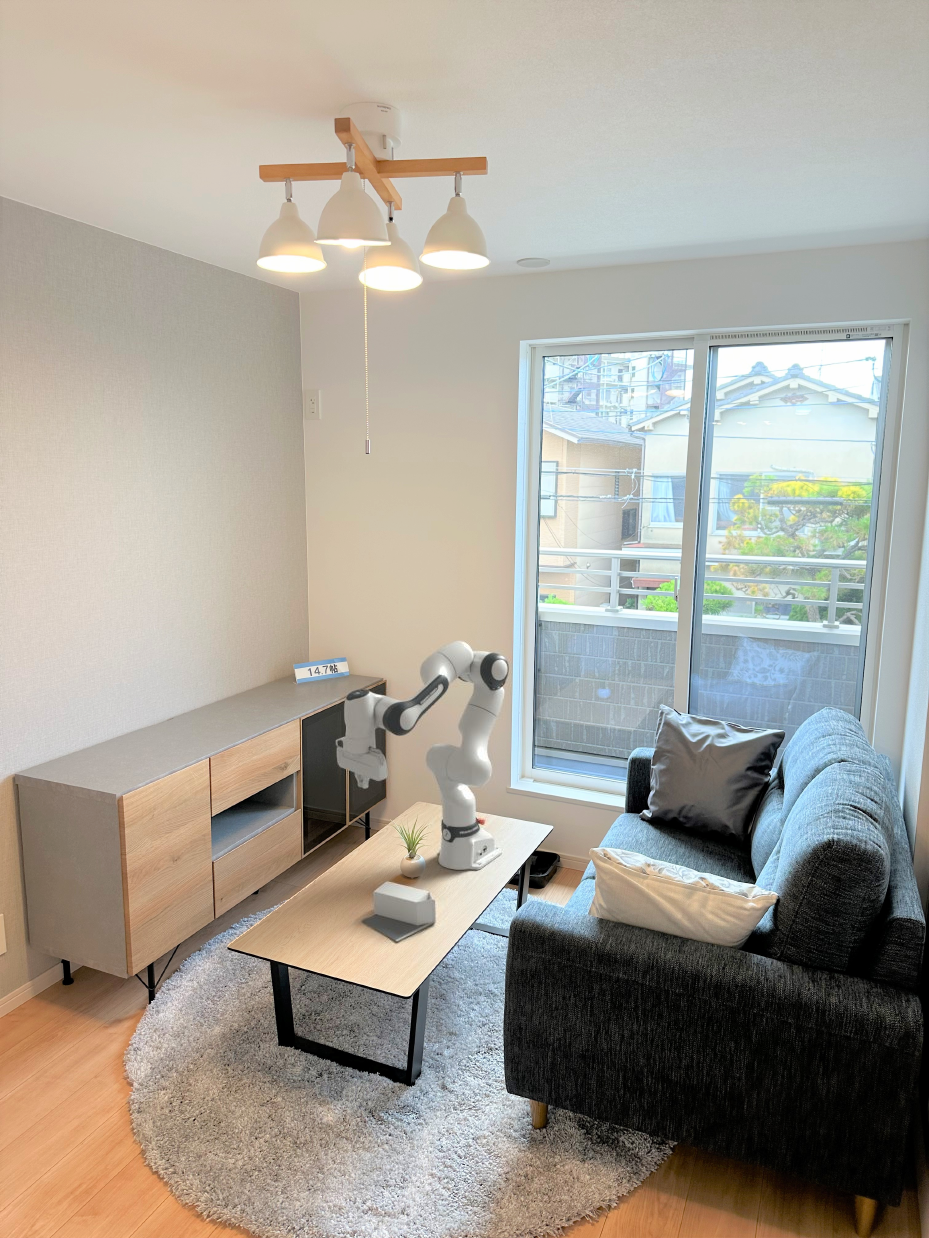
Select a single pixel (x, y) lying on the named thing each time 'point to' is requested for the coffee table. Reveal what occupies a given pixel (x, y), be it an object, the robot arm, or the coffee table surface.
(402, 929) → the mat
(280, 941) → the coffee table surface
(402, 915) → the milk carton
